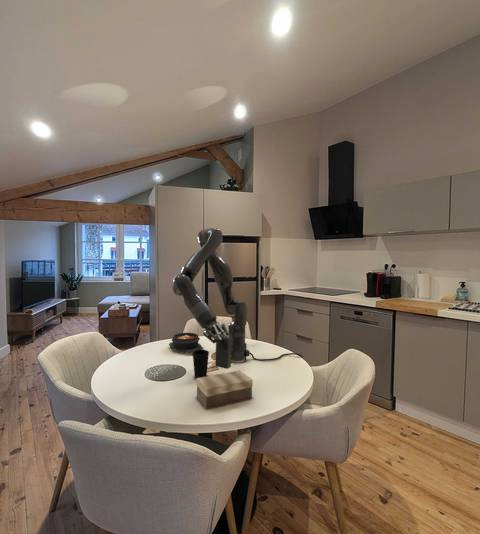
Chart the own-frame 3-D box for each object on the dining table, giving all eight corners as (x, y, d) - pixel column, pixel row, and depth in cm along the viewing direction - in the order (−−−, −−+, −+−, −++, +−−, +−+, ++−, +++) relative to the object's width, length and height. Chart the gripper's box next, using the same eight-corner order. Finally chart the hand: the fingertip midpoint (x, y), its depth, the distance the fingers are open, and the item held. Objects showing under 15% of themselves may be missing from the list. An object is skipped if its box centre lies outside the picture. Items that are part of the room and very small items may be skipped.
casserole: (210, 350, 186) (210, 337, 186) (184, 358, 174) (184, 343, 174) (186, 341, 205) (186, 329, 204) (161, 347, 192) (161, 334, 192)
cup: (211, 375, 150) (211, 350, 150) (205, 381, 143) (205, 355, 142) (196, 373, 153) (196, 348, 152) (189, 379, 145) (189, 353, 145)
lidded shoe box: (239, 388, 136) (239, 370, 136) (252, 399, 126) (252, 379, 126) (196, 397, 127) (196, 378, 127) (206, 409, 117) (206, 389, 117)
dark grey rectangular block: (219, 363, 129) (220, 335, 128) (231, 366, 126) (232, 337, 126) (215, 366, 126) (215, 336, 125) (227, 369, 123) (228, 339, 123)
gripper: (198, 311, 123) (225, 347, 117) (217, 306, 135) (242, 338, 129) (187, 323, 126) (213, 358, 120) (207, 317, 138) (231, 348, 132)
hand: (228, 347), depth 125 cm, fingers closed on dark grey rectangular block, 3 cm apart
